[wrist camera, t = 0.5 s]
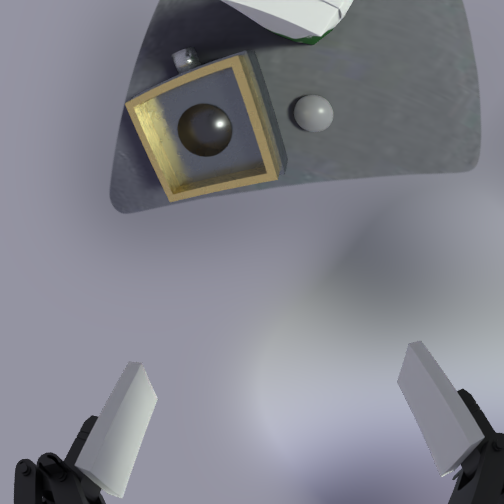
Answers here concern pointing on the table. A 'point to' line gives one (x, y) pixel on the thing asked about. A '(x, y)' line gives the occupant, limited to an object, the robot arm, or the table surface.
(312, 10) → the soya milk
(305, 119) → the grey round lid
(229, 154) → the wooden rimmed tray
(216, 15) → the table surface
